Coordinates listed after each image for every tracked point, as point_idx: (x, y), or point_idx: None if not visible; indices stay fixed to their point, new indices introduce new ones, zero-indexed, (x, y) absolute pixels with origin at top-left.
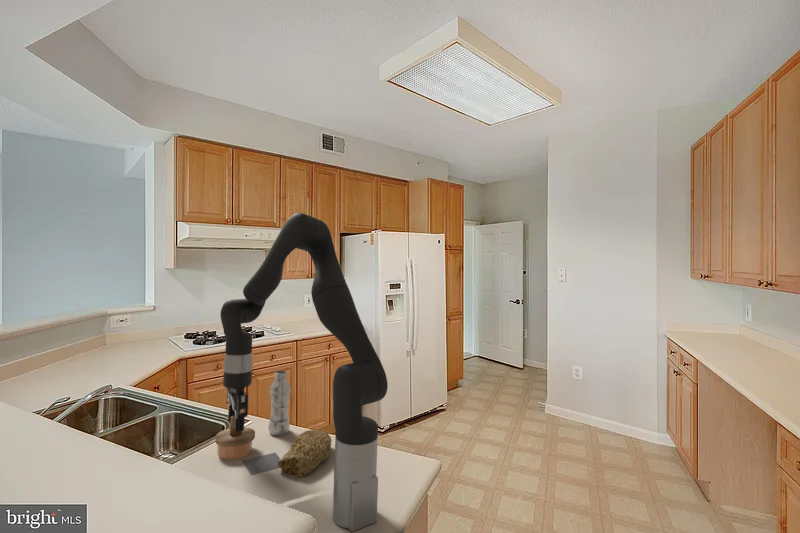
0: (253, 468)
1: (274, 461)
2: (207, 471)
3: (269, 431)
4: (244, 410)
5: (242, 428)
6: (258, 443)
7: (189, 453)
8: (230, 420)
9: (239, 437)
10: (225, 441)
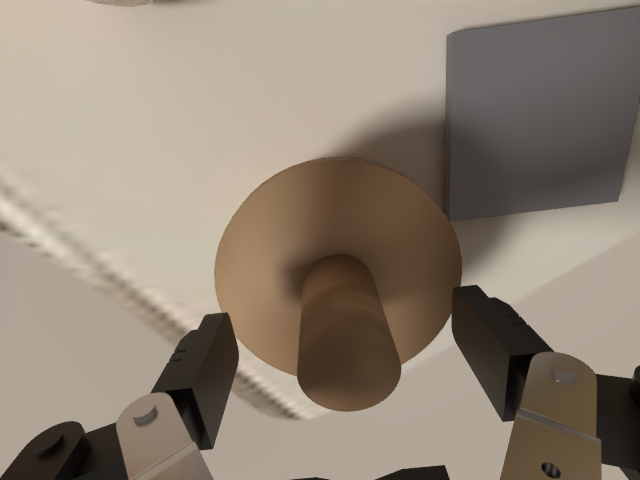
0: (564, 183)
1: (562, 62)
2: (438, 339)
3: (134, 5)
4: (593, 420)
5: (502, 306)
6: (239, 104)
7: (245, 388)
8: (234, 352)
9: (402, 270)
10: (423, 343)
